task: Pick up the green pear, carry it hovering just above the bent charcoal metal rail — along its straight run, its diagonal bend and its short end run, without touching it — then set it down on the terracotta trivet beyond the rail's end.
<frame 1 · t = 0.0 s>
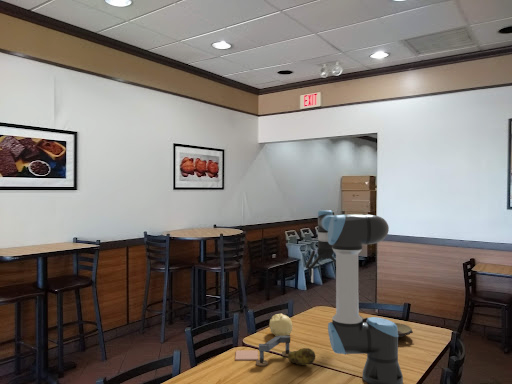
hand: (325, 282, 211), 28 cm above the table, tool pointing down, fingers open, 13 cm apart
cream lumpy ball: (280, 335, 214), on the table
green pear: (301, 366, 176), on the table
trivet: (246, 355, 186), on the table
oil lamp: (384, 335, 214), on the table
rail: (274, 359, 182), on the table
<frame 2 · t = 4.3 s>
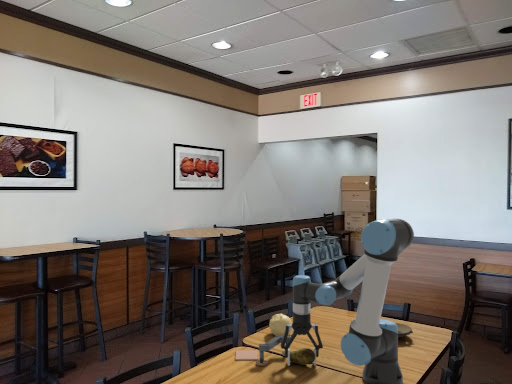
hand: (301, 364, 176), 0 cm above the table, tool pointing down, fingers closed on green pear, 10 cm apart
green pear: (301, 365, 176), on the table, touching gripper
everything else where it was.
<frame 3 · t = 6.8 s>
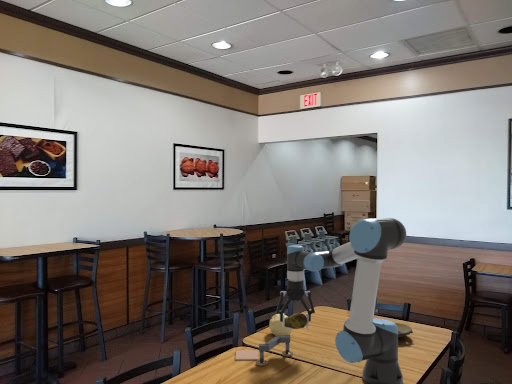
hand: (295, 328, 188), 12 cm above the table, tool pointing down, fingers closed on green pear, 10 cm apart
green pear: (295, 330, 188), point 11 cm above the table, touching gripper
everything else where it was.
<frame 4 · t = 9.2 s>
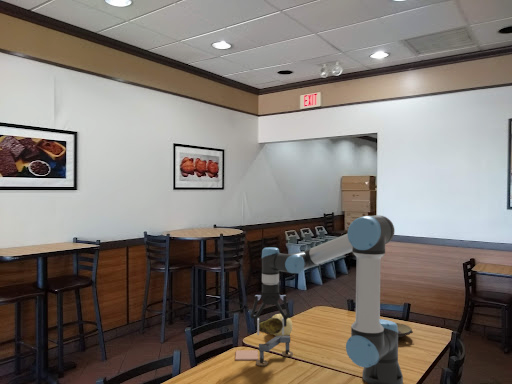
hand: (270, 333, 181), 12 cm above the table, tool pointing down, fingers closed on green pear, 10 cm apart
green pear: (270, 335, 181), point 11 cm above the table, touching gripper
everything else where it was.
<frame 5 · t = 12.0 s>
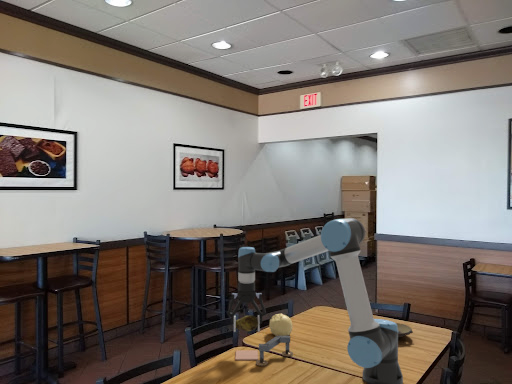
hand: (246, 330, 186), 11 cm above the table, tool pointing down, fingers closed on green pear, 10 cm apart
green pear: (246, 332, 187), point 11 cm above the table, touching gripper
everything else where it was.
when the fingers open (3 cm above the table, at t = 14.3 s): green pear drops 2 cm, resting on trivet.
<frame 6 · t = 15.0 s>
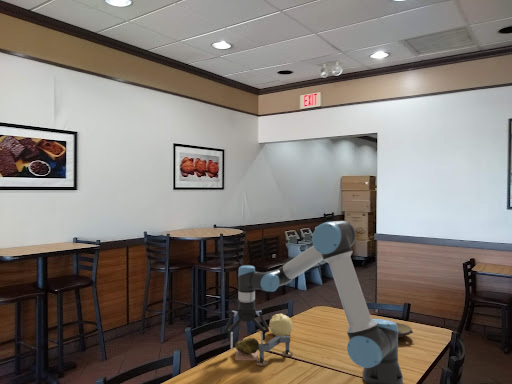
hand: (246, 347, 186), 4 cm above the table, tool pointing down, fingers open, 13 cm apart
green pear: (247, 354, 186), resting on trivet
everything else where it was.
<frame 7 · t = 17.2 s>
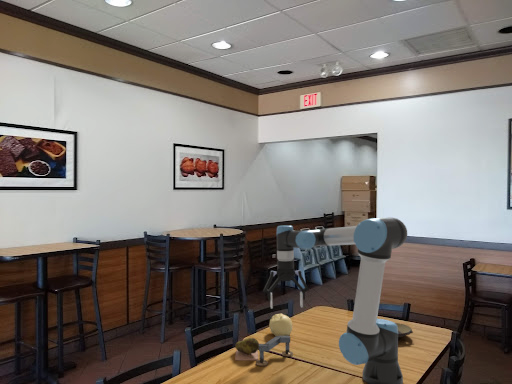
hand: (286, 307, 185), 22 cm above the table, tool pointing down, fingers open, 13 cm apart
nothing on the table moved.
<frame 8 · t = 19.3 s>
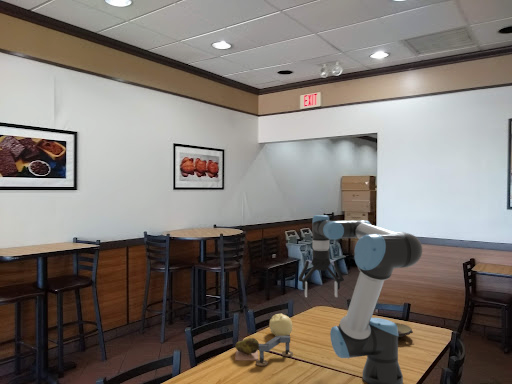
hand: (321, 296, 186), 27 cm above the table, tool pointing down, fingers open, 13 cm apart
nothing on the table moved.
at the end: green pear inside the target area on the trivet (0.4 cm from its centre), point 0.4 cm above the trivet's base; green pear touching trivet; the gripper is holding nothing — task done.
